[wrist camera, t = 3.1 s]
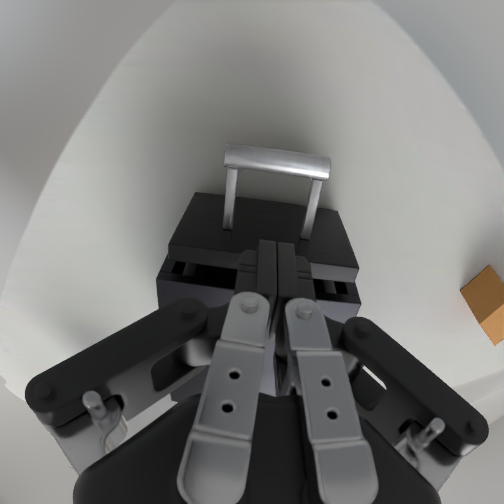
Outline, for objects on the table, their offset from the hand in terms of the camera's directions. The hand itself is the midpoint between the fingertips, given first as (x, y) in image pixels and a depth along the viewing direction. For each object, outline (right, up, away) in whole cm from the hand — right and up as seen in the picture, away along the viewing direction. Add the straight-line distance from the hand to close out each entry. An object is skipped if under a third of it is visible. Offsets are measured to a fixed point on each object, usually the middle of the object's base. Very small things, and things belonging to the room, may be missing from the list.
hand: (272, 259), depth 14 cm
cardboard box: (+26, -4, +16) cm, 31 cm away
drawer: (0, +1, +13) cm, 13 cm away
